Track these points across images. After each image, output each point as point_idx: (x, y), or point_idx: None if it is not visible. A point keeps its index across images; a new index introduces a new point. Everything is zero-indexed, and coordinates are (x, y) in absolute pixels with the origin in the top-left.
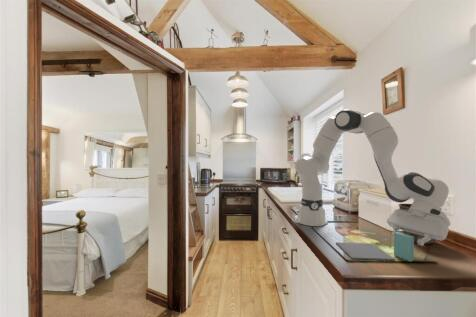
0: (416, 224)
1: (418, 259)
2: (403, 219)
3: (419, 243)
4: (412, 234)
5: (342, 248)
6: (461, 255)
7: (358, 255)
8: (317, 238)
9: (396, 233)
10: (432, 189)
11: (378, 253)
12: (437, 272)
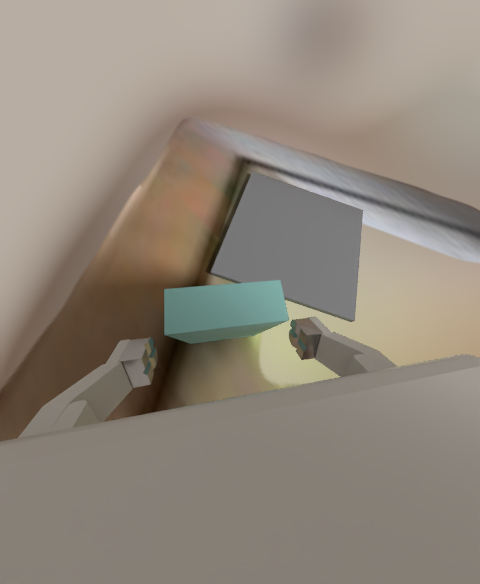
0: (189, 514)
1: (192, 378)
2: (465, 501)
3: (134, 339)
4: None
5: (313, 193)
6: None
7: (260, 194)
8: (400, 196)
9: (265, 281)
10: None
11: (262, 258)
12: (86, 330)
